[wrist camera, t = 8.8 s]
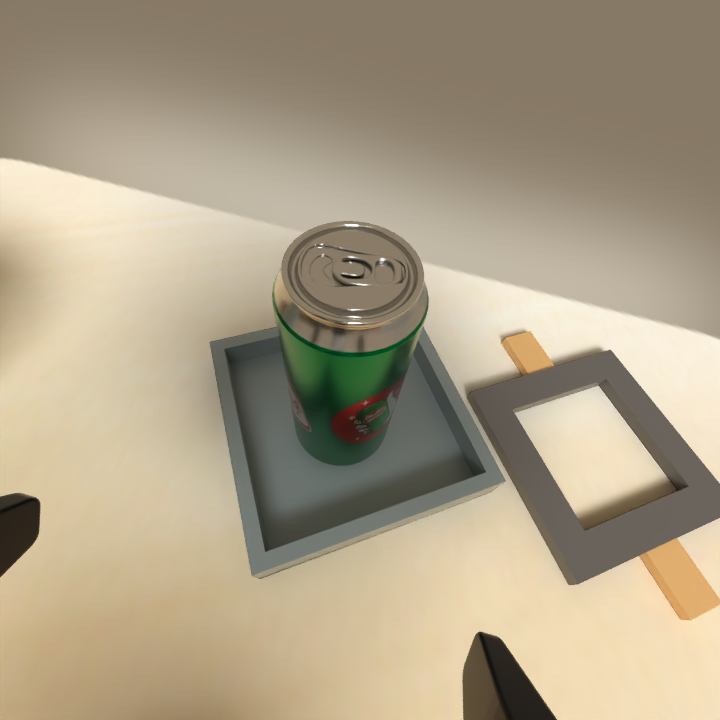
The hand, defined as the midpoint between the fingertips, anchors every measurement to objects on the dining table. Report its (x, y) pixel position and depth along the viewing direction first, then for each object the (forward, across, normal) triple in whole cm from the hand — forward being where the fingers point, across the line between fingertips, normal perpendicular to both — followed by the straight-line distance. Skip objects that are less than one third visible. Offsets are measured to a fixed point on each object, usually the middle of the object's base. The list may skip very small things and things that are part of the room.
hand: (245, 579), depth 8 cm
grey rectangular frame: (+16, -14, +1) cm, 22 cm away
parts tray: (+15, 0, +2) cm, 15 cm away
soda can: (+14, 0, +2) cm, 14 cm away
